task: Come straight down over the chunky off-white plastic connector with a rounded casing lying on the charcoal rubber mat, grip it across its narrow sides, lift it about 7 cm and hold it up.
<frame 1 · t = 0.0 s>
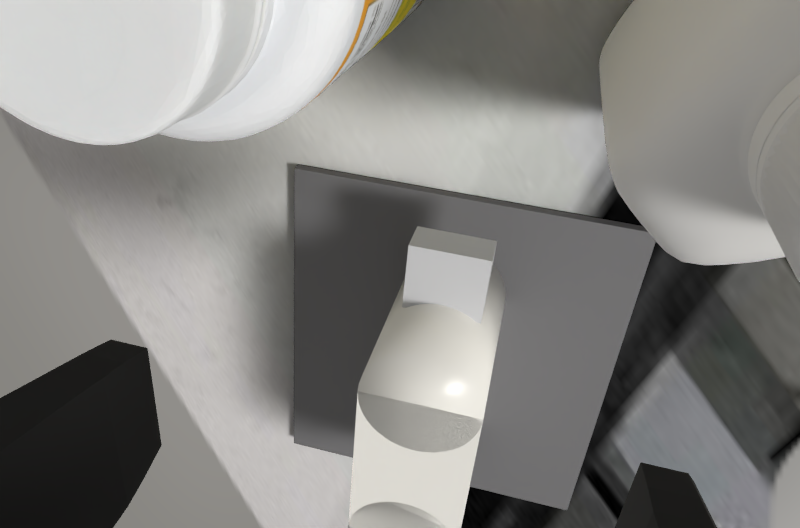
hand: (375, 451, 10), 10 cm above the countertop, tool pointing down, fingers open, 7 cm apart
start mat: (446, 350, 21), on the countertop
connector: (444, 356, 21), resting on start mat
eye dropper bottle: (726, 8, 15), on the countertop
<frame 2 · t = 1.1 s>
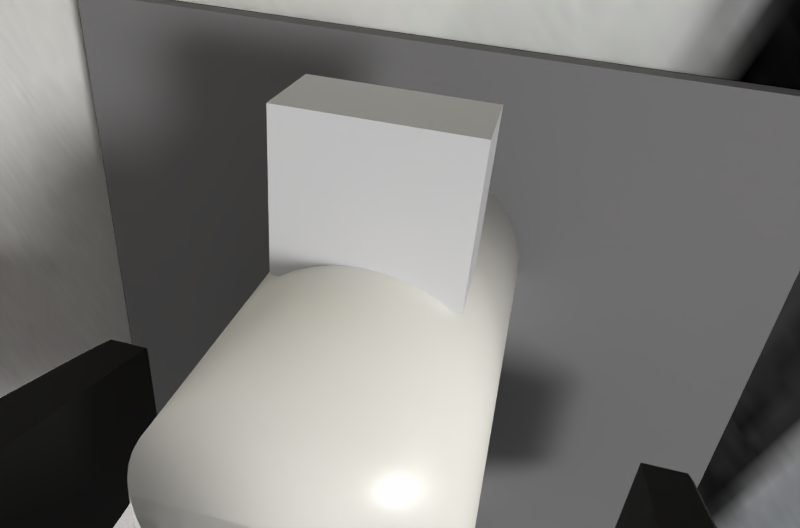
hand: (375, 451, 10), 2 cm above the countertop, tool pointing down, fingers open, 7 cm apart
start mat: (405, 370, 11), on the countertop
connector: (400, 381, 11), resting on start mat
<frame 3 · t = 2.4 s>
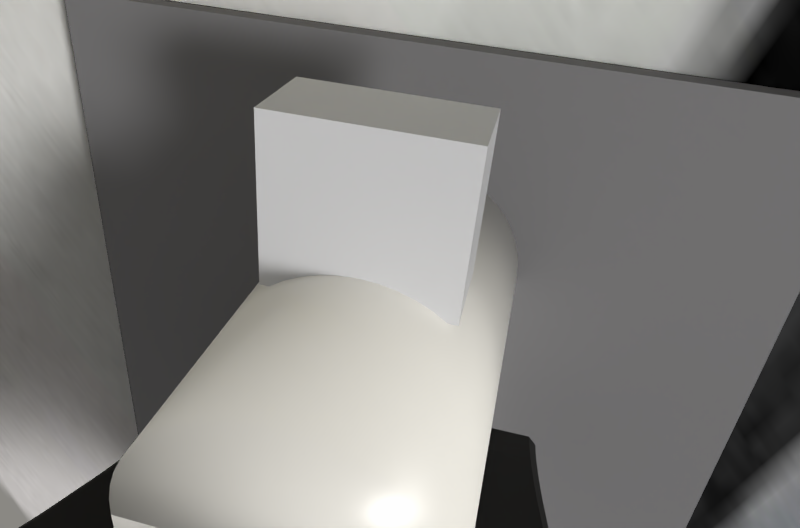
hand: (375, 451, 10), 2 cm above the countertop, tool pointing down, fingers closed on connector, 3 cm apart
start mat: (401, 377, 11), on the countertop
connector: (397, 388, 11), resting on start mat, touching gripper
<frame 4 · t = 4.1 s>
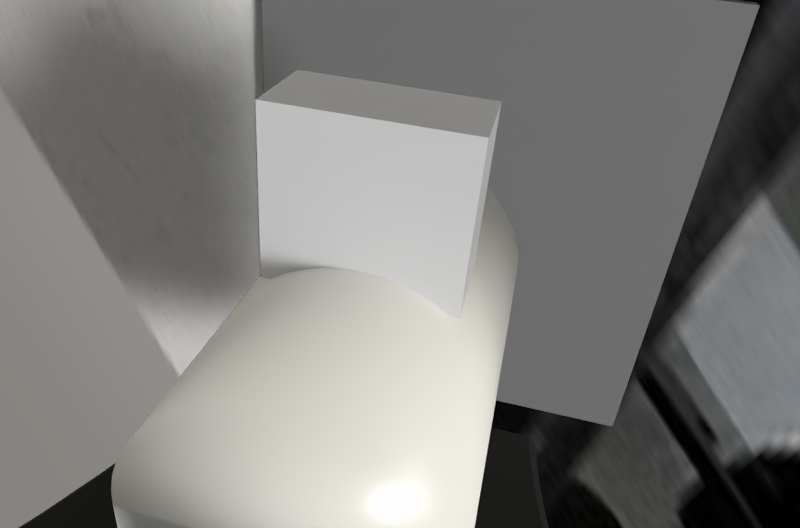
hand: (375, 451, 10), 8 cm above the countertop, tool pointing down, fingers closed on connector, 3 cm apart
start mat: (461, 210, 16), on the countertop
connector: (398, 384, 11), point 7 cm above the countertop, touching gripper
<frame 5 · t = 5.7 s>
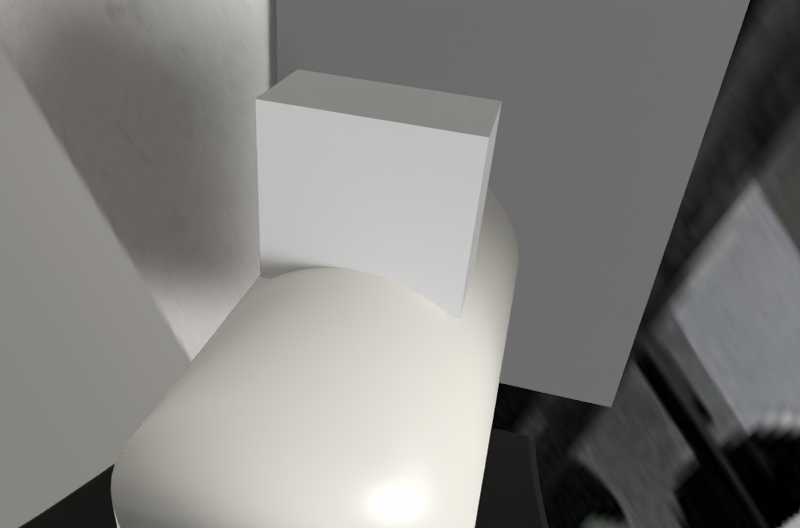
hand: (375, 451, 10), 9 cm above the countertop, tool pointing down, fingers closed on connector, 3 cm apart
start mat: (466, 198, 17), on the countertop
connector: (398, 384, 11), point 7 cm above the countertop, touching gripper
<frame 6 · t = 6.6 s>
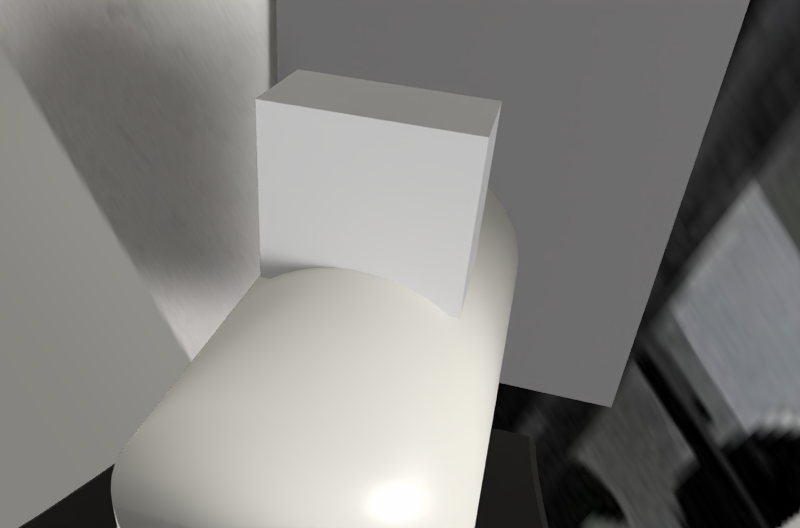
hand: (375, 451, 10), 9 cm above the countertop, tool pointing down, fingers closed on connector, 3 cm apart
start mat: (466, 198, 17), on the countertop
connector: (398, 384, 11), point 7 cm above the countertop, touching gripper
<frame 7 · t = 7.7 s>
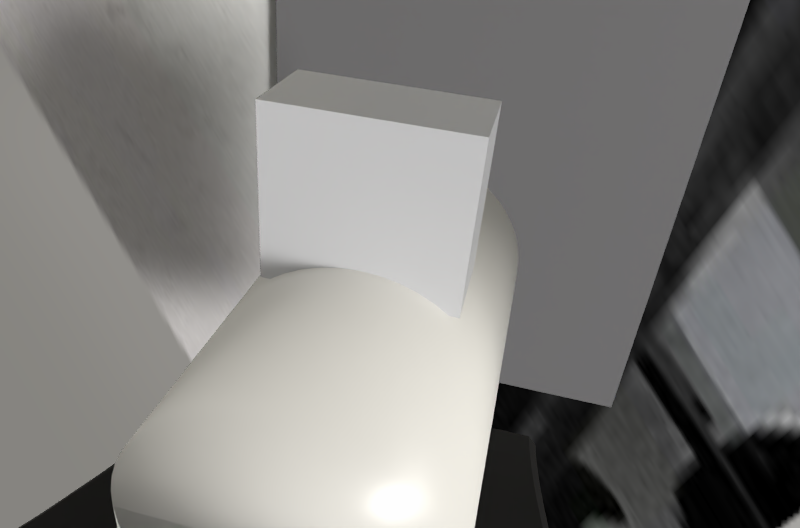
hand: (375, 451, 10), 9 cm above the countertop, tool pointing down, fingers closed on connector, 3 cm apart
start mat: (466, 198, 17), on the countertop
connector: (398, 384, 11), point 7 cm above the countertop, touching gripper
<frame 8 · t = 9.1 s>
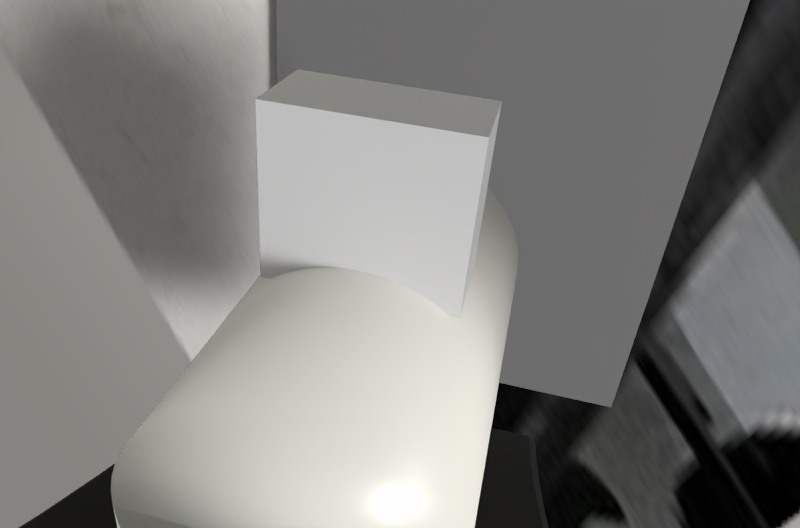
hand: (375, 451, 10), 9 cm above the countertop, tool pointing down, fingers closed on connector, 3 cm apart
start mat: (466, 198, 17), on the countertop
connector: (398, 384, 11), point 7 cm above the countertop, touching gripper
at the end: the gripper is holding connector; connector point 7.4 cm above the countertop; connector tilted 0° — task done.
